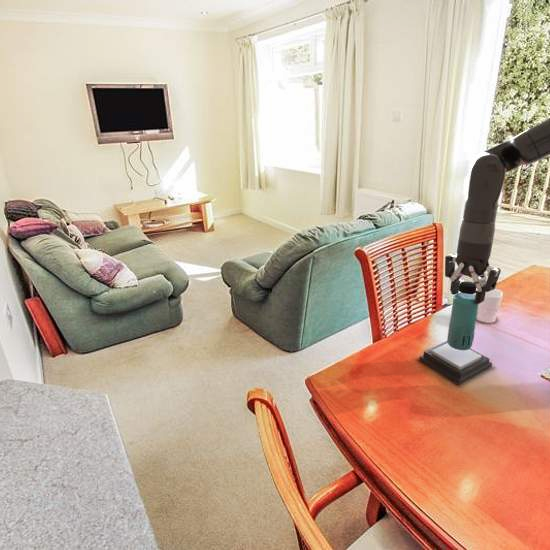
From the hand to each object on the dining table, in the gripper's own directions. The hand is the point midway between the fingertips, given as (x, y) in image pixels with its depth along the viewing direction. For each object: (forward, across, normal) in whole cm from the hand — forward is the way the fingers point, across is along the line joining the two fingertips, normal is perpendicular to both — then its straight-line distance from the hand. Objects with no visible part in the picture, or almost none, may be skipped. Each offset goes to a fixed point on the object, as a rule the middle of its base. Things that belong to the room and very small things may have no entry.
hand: (465, 298), depth 98 cm
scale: (+21, 0, 0) cm, 21 cm away
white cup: (+21, +11, -30) cm, 38 cm away
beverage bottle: (+16, 0, 0) cm, 16 cm away
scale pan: (+19, 0, 0) cm, 19 cm away
